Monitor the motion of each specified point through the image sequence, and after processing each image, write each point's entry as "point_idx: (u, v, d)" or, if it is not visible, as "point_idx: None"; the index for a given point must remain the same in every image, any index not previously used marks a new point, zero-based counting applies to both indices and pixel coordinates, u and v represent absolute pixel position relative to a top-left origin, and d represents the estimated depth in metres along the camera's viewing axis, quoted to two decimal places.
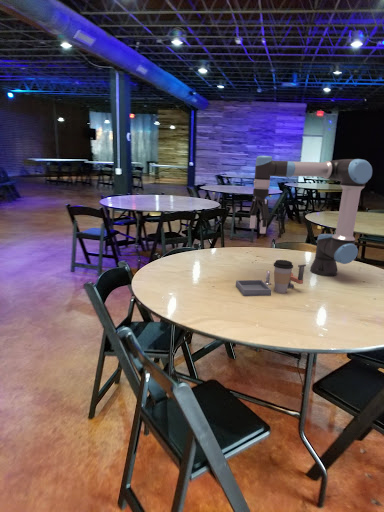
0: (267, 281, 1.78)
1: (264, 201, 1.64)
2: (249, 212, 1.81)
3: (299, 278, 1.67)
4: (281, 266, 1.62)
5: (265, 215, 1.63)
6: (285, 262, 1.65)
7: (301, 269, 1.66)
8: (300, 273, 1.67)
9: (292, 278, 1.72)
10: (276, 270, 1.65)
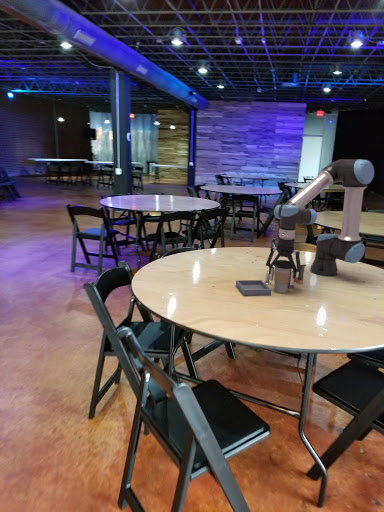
0: (267, 281, 1.78)
1: (298, 253, 1.60)
2: (267, 264, 1.69)
3: (299, 278, 1.67)
4: (281, 266, 1.62)
5: (299, 267, 1.62)
6: (285, 262, 1.65)
7: (301, 269, 1.66)
8: (300, 273, 1.67)
9: None
10: (276, 270, 1.65)
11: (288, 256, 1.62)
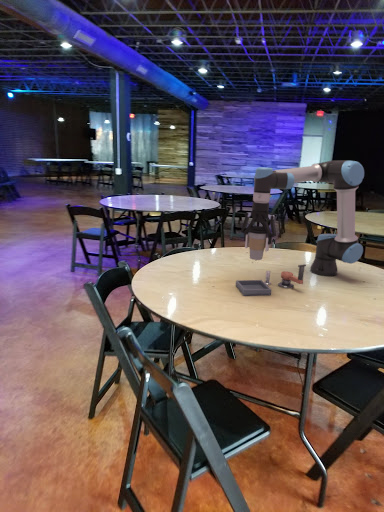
0: (267, 281, 1.78)
1: (273, 217, 1.55)
2: (242, 231, 1.64)
3: (299, 278, 1.67)
4: (255, 231, 1.57)
5: (274, 232, 1.56)
6: (260, 228, 1.60)
7: (301, 269, 1.66)
8: (300, 273, 1.67)
9: (292, 278, 1.72)
10: (251, 236, 1.60)
11: (263, 221, 1.57)
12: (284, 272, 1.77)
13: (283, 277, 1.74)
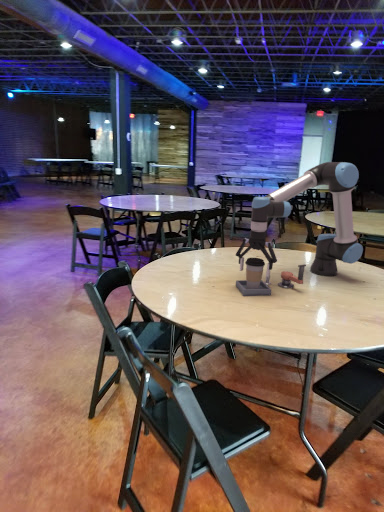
0: (267, 281, 1.78)
1: (270, 244, 1.58)
2: (236, 254, 1.68)
3: (299, 278, 1.67)
4: (252, 264, 1.61)
5: (274, 258, 1.59)
6: (256, 260, 1.64)
7: (301, 269, 1.66)
8: (300, 273, 1.67)
9: (292, 278, 1.72)
10: (247, 268, 1.64)
11: (261, 248, 1.60)
12: (284, 272, 1.77)
13: (283, 277, 1.74)
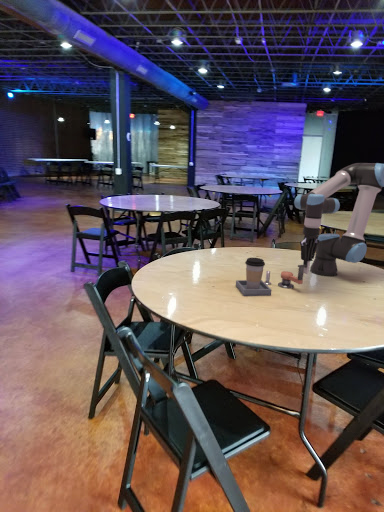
0: (267, 281, 1.78)
1: (300, 243, 1.64)
2: None
3: (299, 278, 1.67)
4: (252, 264, 1.61)
5: (301, 256, 1.67)
6: (256, 260, 1.64)
7: (301, 269, 1.66)
8: (300, 273, 1.66)
9: (292, 278, 1.72)
10: (247, 268, 1.64)
11: None
12: (284, 272, 1.77)
13: (283, 277, 1.75)
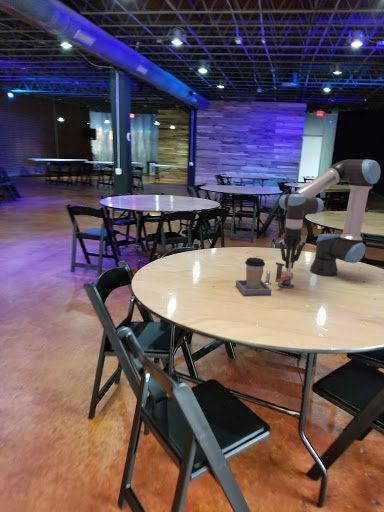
0: (267, 281, 1.78)
1: (279, 243, 1.64)
2: None
3: (276, 275, 1.70)
4: (252, 264, 1.61)
5: (282, 256, 1.66)
6: (256, 260, 1.64)
7: (277, 267, 1.68)
8: None
9: None
10: (247, 268, 1.64)
11: None
12: None
13: None
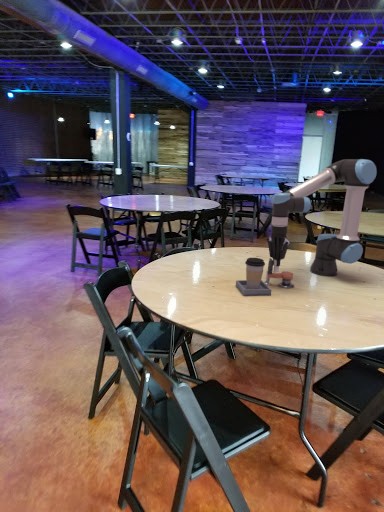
0: (267, 281, 1.78)
1: None
2: None
3: None
4: (252, 264, 1.61)
5: None
6: (256, 260, 1.64)
7: None
8: None
9: None
10: (247, 268, 1.64)
11: None
12: (289, 272, 1.76)
13: None
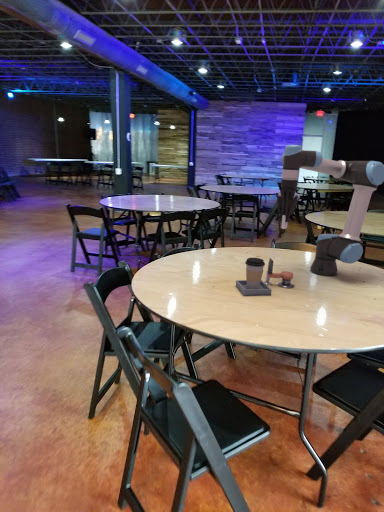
0: (267, 281, 1.78)
1: None
2: None
3: None
4: (252, 264, 1.61)
5: None
6: (256, 260, 1.64)
7: None
8: None
9: None
10: (247, 268, 1.64)
11: None
12: (289, 272, 1.76)
13: None
